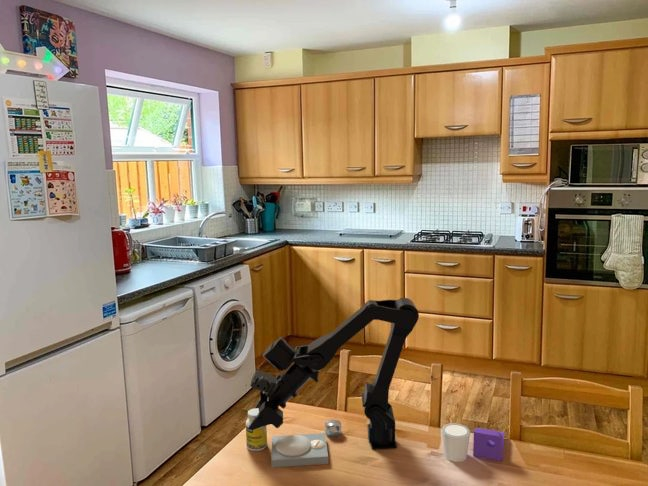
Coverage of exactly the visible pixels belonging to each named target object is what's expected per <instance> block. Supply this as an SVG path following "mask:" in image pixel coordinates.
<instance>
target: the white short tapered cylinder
mask: <svg viewBox="0 0 648 486" xmlns="http://www.w3.org/2000/svg"><path fill="white" fill-rule="evenodd" d="M441 434H442V435H441V436H442V437H441V438H442V445H443V447H442V448H443V456H444V458H445V459H446V460H448V461H449V462H452V463H453V462H454V463H461V462H464V461H466V460H467V458H468V451H469V443H470V435H471V432H470V429H469V428H468V427H467V426H466V425H464V424H460V423H454V422H453V423H447V424H444V425H443V426H442V427H441Z"/></svg>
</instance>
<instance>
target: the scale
mask: <svg viewBox="0 0 648 486" xmlns="http://www.w3.org/2000/svg"><path fill="white" fill-rule="evenodd" d="M326 439H327V437H326V435H325V432H320V433H319V432H318V433H316V432H315V433H299V434H287V435H272V436H271V452H270V453H271V455H270V462H271V463H270V464H271V466H270V467H271V468H272V469H273V468H284V467H285V468H286V467H299V466H313V465H314V466H315V465H316V466H317V465H328V464H329V454H328V453H329V452H328V446H327V440H326Z"/></svg>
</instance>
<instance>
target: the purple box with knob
mask: <svg viewBox="0 0 648 486" xmlns="http://www.w3.org/2000/svg"><path fill="white" fill-rule="evenodd" d="M505 433H506V432H505V431H499V430H492V429H488V428H487V429H485V428H481V427H478V428H476V427H474V429H473V444H472V445H473V447H472V449H473V450H472V456H473V457H476V458H483V459H488V460H492V461H497V462H498V461H499V462H503V455H504V445H505V444H504V443H505Z"/></svg>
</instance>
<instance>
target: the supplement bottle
mask: <svg viewBox="0 0 648 486" xmlns="http://www.w3.org/2000/svg"><path fill="white" fill-rule="evenodd" d="M258 413H259V408H255V407H254V408H251V409H249V410H248V411H247V419H246V421H245V437H246V439H245V440H246V447H247V449H248V450H250V451H252V452H259V451H260V452H261V451H262V450H264V449H266V447H267V445H268V432H267V431H268V429H267V425H266V426H263V427H260V428H257V429H254V430H250V429H249V426H250V424H251V423H252V421H253V420H254V419H255V417H256V416H257V414H258Z"/></svg>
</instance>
